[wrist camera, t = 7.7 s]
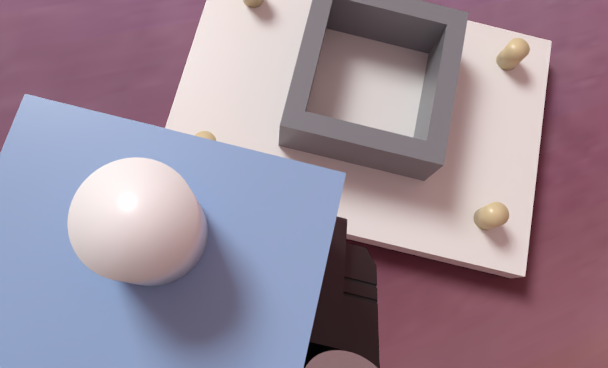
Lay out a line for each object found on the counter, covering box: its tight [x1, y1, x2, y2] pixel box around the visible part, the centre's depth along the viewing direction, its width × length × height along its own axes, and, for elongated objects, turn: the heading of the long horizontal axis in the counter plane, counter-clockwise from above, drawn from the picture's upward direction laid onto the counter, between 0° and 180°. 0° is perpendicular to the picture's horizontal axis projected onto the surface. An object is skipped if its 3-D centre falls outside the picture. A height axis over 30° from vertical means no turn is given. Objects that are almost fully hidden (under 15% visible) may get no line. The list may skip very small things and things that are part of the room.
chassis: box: [165, 0, 552, 278], centre depth 26 cm, size 20×14×4 cm
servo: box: [0, 94, 346, 368], centre depth 9 cm, size 4×4×10 cm
